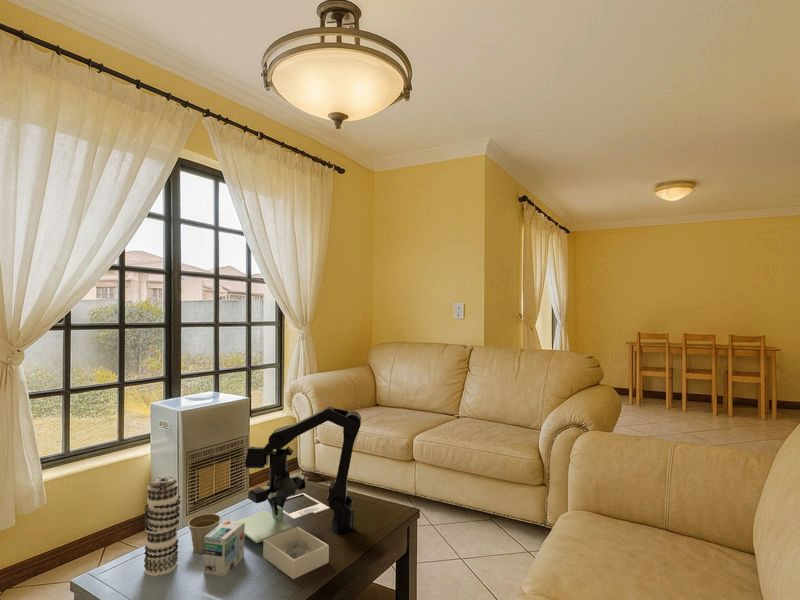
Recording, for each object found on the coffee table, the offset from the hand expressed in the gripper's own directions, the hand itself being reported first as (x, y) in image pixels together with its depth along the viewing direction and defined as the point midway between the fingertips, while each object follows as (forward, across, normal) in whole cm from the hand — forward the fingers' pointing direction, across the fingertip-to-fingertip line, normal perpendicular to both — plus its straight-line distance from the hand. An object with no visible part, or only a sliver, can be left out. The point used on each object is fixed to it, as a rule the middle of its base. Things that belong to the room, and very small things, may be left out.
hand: (277, 514), depth 154 cm
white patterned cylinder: (+6, -35, +4) cm, 36 cm away
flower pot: (+6, -22, +6) cm, 23 cm away
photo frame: (+6, +16, +11) cm, 20 cm away
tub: (+6, -6, -20) cm, 21 cm away
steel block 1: (+5, -4, -17) cm, 18 cm away
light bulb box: (+6, -22, -8) cm, 24 cm away
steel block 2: (+5, -8, -23) cm, 25 cm away
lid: (+3, -6, 0) cm, 6 cm away
